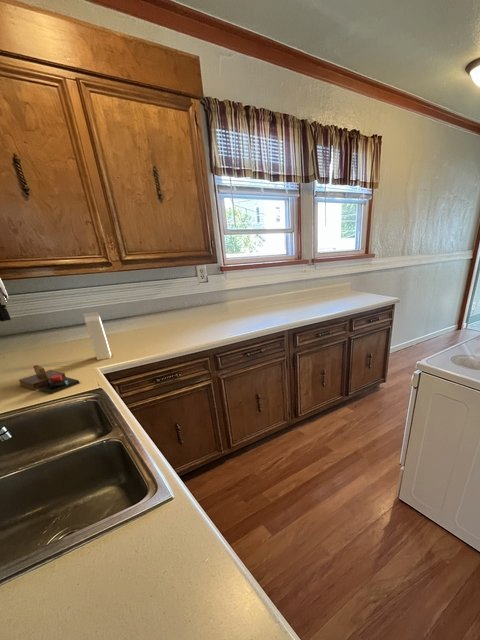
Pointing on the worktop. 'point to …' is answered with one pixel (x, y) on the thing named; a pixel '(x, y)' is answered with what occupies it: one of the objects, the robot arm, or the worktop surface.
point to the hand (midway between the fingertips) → (4, 320)
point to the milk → (97, 335)
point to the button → (56, 378)
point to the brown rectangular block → (40, 371)
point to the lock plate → (38, 380)
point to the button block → (58, 385)
